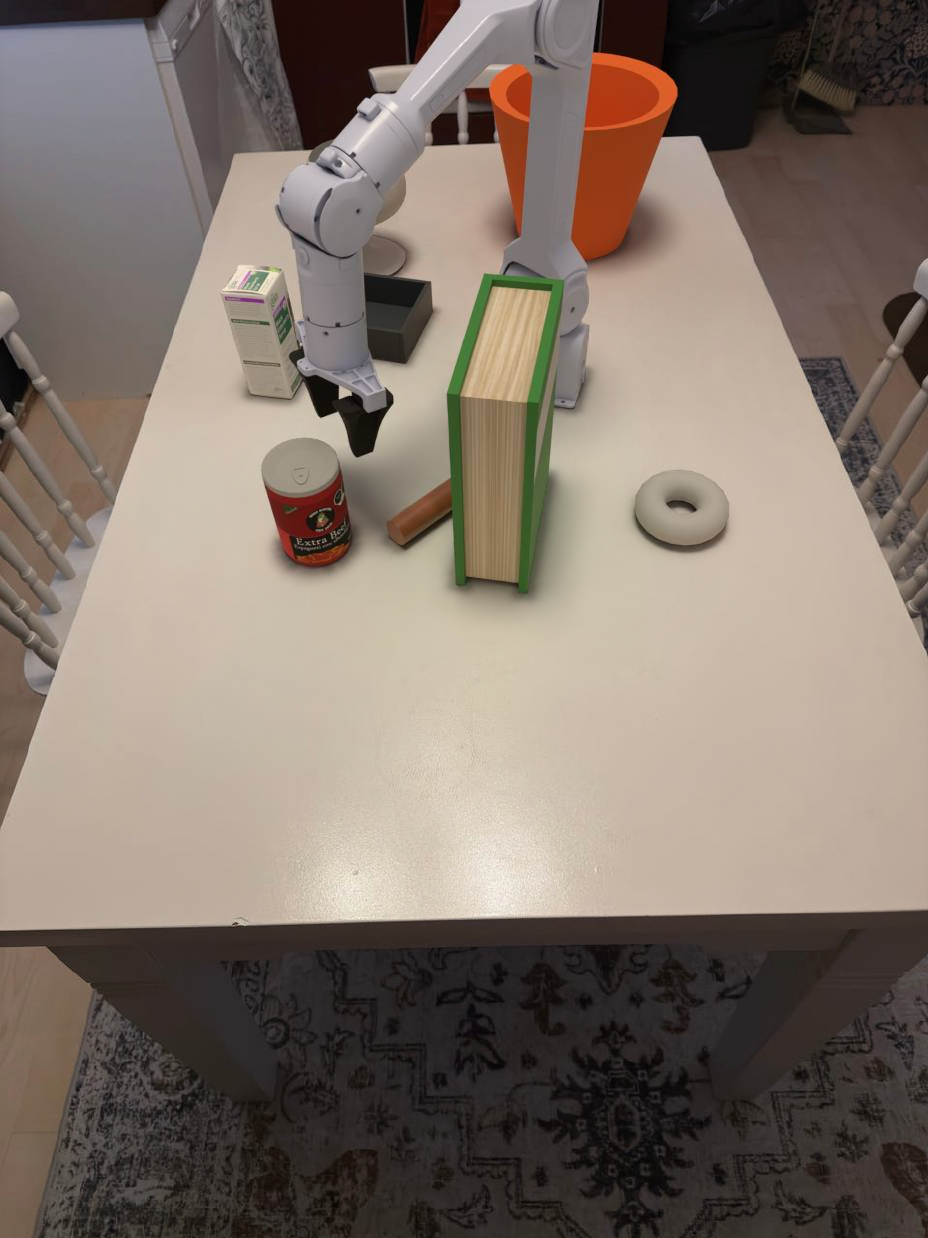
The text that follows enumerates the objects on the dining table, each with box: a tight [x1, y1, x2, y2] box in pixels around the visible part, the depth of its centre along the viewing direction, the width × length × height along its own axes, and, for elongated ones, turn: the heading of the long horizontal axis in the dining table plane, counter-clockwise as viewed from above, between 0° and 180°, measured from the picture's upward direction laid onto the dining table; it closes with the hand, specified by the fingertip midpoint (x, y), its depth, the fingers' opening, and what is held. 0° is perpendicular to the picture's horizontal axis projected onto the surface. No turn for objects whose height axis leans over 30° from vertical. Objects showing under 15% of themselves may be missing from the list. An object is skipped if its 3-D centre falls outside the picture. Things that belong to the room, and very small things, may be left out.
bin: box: [363, 272, 434, 364], centre depth 111 cm, size 13×12×4 cm
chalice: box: [305, 138, 407, 276], centre depth 117 cm, size 14×14×15 cm
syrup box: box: [220, 264, 303, 400], centre depth 101 cm, size 6×6×14 cm
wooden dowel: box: [385, 476, 452, 546], centre depth 90 cm, size 10×3×3 cm, turn 134°
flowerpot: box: [488, 52, 678, 261], centre depth 119 cm, size 25×25×20 cm
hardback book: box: [446, 273, 564, 594], centre depth 81 cm, size 18×7×24 cm, turn 169°
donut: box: [634, 469, 730, 546], centre depth 89 cm, size 10×4×10 cm
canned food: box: [260, 437, 353, 567], centre depth 85 cm, size 8×8×11 cm
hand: (344, 432), depth 86 cm, fingers open, 7 cm apart
